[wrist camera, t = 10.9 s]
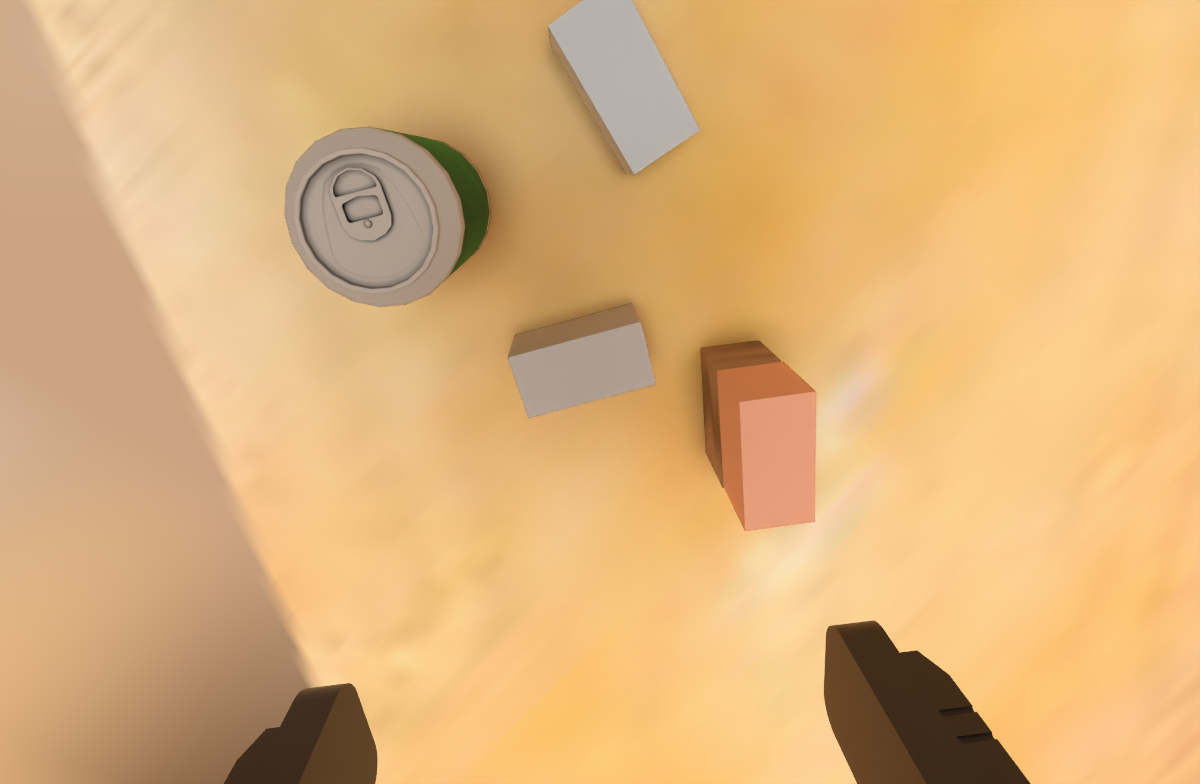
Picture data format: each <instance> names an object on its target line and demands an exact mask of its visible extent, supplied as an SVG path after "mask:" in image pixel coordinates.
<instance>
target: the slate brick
mask: <svg viewBox="0 0 1200 784" xmlns="http://www.w3.org/2000/svg"><path fill="white" fill-rule="evenodd" d="M508 360H509V363H510V366H511V369H512V371H513V374H514V377H515V380H516V383H517V386H518V389H519V392H520V395H521V398H522V401H523V404H524V407H525V410H526V412H527V415H528V418H531V417H535V416H538V415H542V414H546V413H550V412H554V411H557V410H561V409H565V408H569V407H572V406H576V405H580V404H584V403H587V402H591V401H595V400H599V399H602V398H606V397H610V396H614V395H617V394H621V393H625V392H629V391H632V390H636V389H640V388H644V387H647V386H651V385H655V384H656V382H655V378H654V374H653V370H652V366H651V361H650V357H649V353H648V349H647V345H646V341H645V337H644V333H643V329H642V325H641V321H640V319H639V317H638V315H637V313H636V311H635V308H634V306H633V304H632V303H631V304H627V305H624V306H620V307H616V308H613V309H609V310H605V311H602V312H598V313H594V314H591V315H587V316H583V317H580V318H576V319H572V320H569V321H565V322H561V323H558V324H554V325H550V326H547V327H543V328H539V329H536V330H532V331H528V332H525V333H521V334H517V335H515V336H514V340H513V343H512V346H511V349H510V352H509V356H508Z"/></svg>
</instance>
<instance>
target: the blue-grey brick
mask: <svg viewBox="0 0 1200 784" xmlns="http://www.w3.org/2000/svg"><path fill="white" fill-rule="evenodd" d="M548 30H549V36H550V43H551V47H552V48H553V50H554V52H555V53H556V55H557V57H558V59H559V60H560V62H561V64H562V65H563V67H564V69H565V70H566V72H567V74H568V76H569V77H570V79H571V81H572V82H573V84H574V86H575V87H576V89H577V91H578V93H579V94H580V96H581V98H582V99H583V101H584V103H585V105H586V106H587V108H588V110H589V111H590V113H591V115H592V116H593V118H594V120H595V122H596V123H597V125H598V127H599V128H600V130H601V132H602V134H603V135H604V137H605V139H606V140H607V142H608V144H609V145H610V147H611V149H612V151H613V152H614V154H615V156H616V157H617V159H618V161H619V162H620V164H621V166H622V168H623V169H624V171H625V173H626V174H633V175H635V174H636V173H638V172H639V171H641V170H642V169H644V168H645V167H647V166H648V165H649V164H651V163H652V162H654V161H655V160H657V159H658V158H660V157H661V156H663V155H664V154H666V153H667V152H669V151H670V150H671V149H673V148H674V147H676V146H677V145H679V144H680V143H682V142H683V141H685V140H686V139H688V138H689V137H691V136H692V135H694V134H695V133H696V132H698V131H699V130H700V128H699V127H698V125H697V123H696V121H695V119H694V117H693V115H692V113H691V111H690V109H689V108H688V106H687V104H686V102H685V100H684V98H683V96H682V94H681V92H680V90H679V88H678V87H677V85H676V83H675V81H674V79H673V77H672V75H671V73H670V71H669V69H668V68H667V66H666V64H665V62H664V60H663V58H662V56H661V54H660V52H659V50H658V49H657V47H656V45H655V43H654V41H653V39H652V37H651V35H650V33H649V31H648V29H647V28H646V26H645V24H644V22H643V20H642V18H641V16H640V14H639V12H638V10H637V9H636V7H635V5H634V3H633V1H632V0H582V1H581V2H579V3H578V4H577V5H575V6H574V7H573V8H571V9H570V10H569V11H567V12H566V13H565V14H563V15H562V16H561V17H559V18H558V19H557V20H555V21H554V22H553V23H551V24H550V25H548Z"/></svg>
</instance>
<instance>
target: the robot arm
mask: <svg viewBox="0 0 1200 784" xmlns="http://www.w3.org/2000/svg"><path fill="white" fill-rule="evenodd" d="M824 699H825V705H826V710H827V714H828V718H829V721H830V724H831V727H832V730H833V732H834V735H835V737H836V739H837V741H838V743H839V745H840V748H841V750H842V752H843V754H844V756H845V758H846V760H847V763H848V765H849V767H850V769H851V771H852V773H853V775H854V778H855V780H856V782H857V784H1030V783H1029V781H1028V780H1027V779H1026V777H1025V776H1024V774H1023V773H1022V772H1021V770H1020V769H1019V768H1018V766H1017V765H1016V764H1015V762H1014V761H1013V760H1012V758H1011V757H1010V756H1009V754H1008V753H1007V752H1006V750H1005V749H1004V748H1003V746H1002V745H1001V744H1000V742H999V741H998V740H997V739H994V738H993V736H992V732H991V730H990V729H989V728H988V726H987V725H986V724H985V722H984V721H983V720H982V718H981V717H980V716H979V714H978V713H977V712H974V711H973V708H972V705H971V704H970V702H969V701H968V700H967V698H966V697H965V696H964V694H963V693H962V692H961V690H960V689H959V688H958V686H957V685H956V684H955V682H954V681H953V679H952V678H951V677H950V675H948V674H947V673H946V672H945V671H943V670H942V669H941V668H939V667H938V666H937V665H935V664H934V663H933V662H931V661H930V660H929V659H927V658H926V657H925V656H924V655H922V654H921V653H920V652H918V651H909V652H901V653H899V651H898V650H897V648H896V647H895V645H894V644H893V643H892V641H891V640H890V638H889V637H888V635H887V634H886V632H885V631H884V629H883V628H882V627H881V626H880V625H879V624H878V623H877V622H876V621H866V622H858V623H850V624H842V625H834V626H829V627H828V629H827V633H826V653H825V677H824ZM376 775H377V750H376V745H375V742H374V739H373V736H372V734H371V731H370V728H369V725H368V722H367V719H366V717H365V714H364V711H363V708H362V705H361V702H360V700H359V697H358V694H357V691H356V689H355V687H354V686H353V685H352V684H350V683H348V684H339V685H331V686H323V687H315V688H307V689H304V690H302V691H300V692H299V693H298V695H297V696H296V698H295V699H294V701H293V703H292V705H291V707H290V709H289V711H288V713H287V714H286V716H285V718H284V721H283V722H282V724H281V726H280V727H277V728H269V729H266V730H265V731H264V732H263V733H262V734H261V735H260V736H259V738H257V740H256V741H255V742H254V743H253V744H252V745H251V746H250V747H249V748H248V749H247V750H246V751H245V752H244V754H243V755H242V756H241V757H240V758H239V759H238V760H237V761H236V763H235V765H234V767H233V769H232V770H231V772H230V774H229V775H228V777H227V779H226V781H225V783H224V784H375V781H376Z"/></svg>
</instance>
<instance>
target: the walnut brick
mask: <svg viewBox="0 0 1200 784" xmlns="http://www.w3.org/2000/svg"><path fill="white" fill-rule="evenodd" d="M776 362H782V361H781V360H780V359H779V358H777V357H776V356H775V355H774V354H773V353H772V352H771V351H770V350H769V349H768V348H767V347H765V346H764V345H763V344H762V343H761V342H760V341H752V342H744V343H736V344H728V345H719V346H711V347H703V348H701V367H702V387H703V407H704V427H705V447H706V454H707V456H708V458H709V460H710V462H711V465H712V467H713V469H714V471H715V473H716V475H717V477H718V479H719V481H720V483H721V486H722V487H724V486H723V469H722V451H721V434H720V417H719V399H718V382H717V371H718V370H725V369H732V368H740V367H747V366H754V365H762V364H769V363H776Z"/></svg>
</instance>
